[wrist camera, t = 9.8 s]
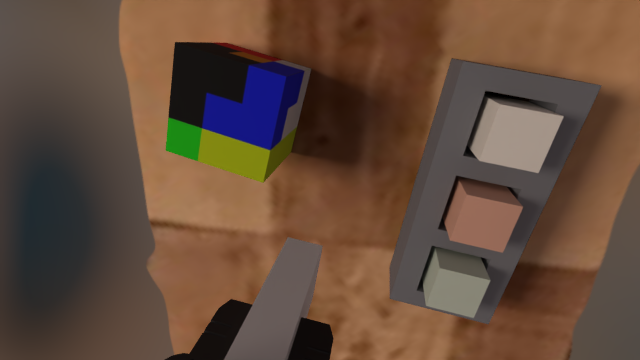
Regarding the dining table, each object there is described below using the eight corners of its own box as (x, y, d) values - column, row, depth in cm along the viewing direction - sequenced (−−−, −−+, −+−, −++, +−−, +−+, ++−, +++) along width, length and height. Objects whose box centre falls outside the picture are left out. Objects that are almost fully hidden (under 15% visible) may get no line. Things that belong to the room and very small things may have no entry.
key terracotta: (452, 166, 37) (466, 194, 30) (498, 176, 36) (523, 206, 30) (439, 205, 39) (449, 240, 32) (482, 215, 38) (502, 252, 31)
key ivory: (477, 92, 34) (500, 104, 27) (527, 101, 33) (563, 116, 26) (461, 138, 36) (479, 160, 29) (509, 148, 35) (538, 173, 28)
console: (451, 58, 34) (463, 61, 29) (566, 78, 33) (601, 85, 28) (389, 267, 45) (389, 298, 39) (475, 288, 43) (488, 324, 38)
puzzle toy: (311, 68, 37) (286, 76, 28) (291, 152, 41) (263, 182, 32) (226, 42, 38) (175, 42, 29) (214, 127, 42) (165, 150, 33)
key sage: (431, 229, 40) (439, 268, 33) (473, 239, 40) (490, 280, 33) (419, 263, 42) (426, 305, 35) (459, 272, 41) (473, 318, 35)
